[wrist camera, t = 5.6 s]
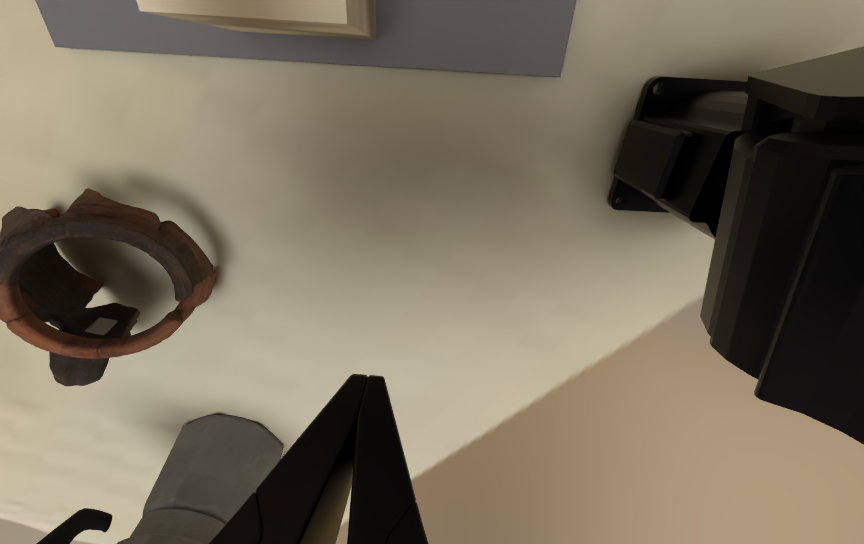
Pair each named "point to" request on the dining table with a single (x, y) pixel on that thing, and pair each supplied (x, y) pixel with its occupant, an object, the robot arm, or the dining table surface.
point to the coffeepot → (194, 484)
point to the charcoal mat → (395, 46)
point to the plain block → (275, 15)
